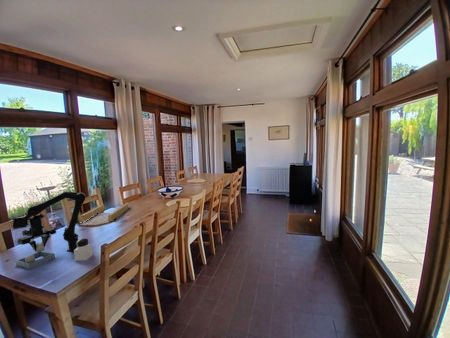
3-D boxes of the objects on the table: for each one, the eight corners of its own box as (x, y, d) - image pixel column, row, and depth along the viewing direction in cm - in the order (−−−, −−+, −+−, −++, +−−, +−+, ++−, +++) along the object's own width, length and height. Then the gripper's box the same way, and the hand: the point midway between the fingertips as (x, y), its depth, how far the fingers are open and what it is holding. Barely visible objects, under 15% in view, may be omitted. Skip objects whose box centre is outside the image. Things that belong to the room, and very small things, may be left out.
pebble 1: (36, 262, 136) (35, 255, 136) (28, 266, 132) (27, 259, 132) (32, 261, 138) (32, 254, 138) (24, 264, 134) (23, 257, 134)
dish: (54, 258, 142) (54, 253, 142) (30, 269, 129) (29, 264, 129) (41, 255, 147) (40, 250, 146) (16, 265, 134) (15, 260, 134)
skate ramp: (112, 225, 202) (110, 207, 201) (72, 227, 201) (70, 209, 199) (128, 212, 242) (127, 197, 241) (95, 214, 241) (94, 199, 239)
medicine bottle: (93, 255, 144) (91, 237, 143) (86, 260, 137) (84, 241, 136) (81, 255, 144) (79, 237, 143) (74, 261, 137) (72, 242, 136)
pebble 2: (45, 249, 143) (44, 242, 142) (38, 252, 139) (37, 245, 138) (41, 248, 144) (40, 242, 144) (33, 251, 140) (32, 244, 140)
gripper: (44, 219, 152) (47, 241, 153) (10, 229, 134) (14, 254, 136) (55, 220, 147) (58, 243, 149) (21, 231, 130) (24, 256, 132)
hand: (39, 249), depth 141 cm, fingers closed on pebble 2, 4 cm apart
